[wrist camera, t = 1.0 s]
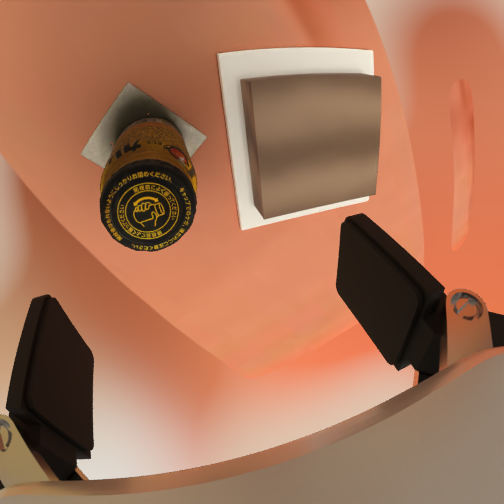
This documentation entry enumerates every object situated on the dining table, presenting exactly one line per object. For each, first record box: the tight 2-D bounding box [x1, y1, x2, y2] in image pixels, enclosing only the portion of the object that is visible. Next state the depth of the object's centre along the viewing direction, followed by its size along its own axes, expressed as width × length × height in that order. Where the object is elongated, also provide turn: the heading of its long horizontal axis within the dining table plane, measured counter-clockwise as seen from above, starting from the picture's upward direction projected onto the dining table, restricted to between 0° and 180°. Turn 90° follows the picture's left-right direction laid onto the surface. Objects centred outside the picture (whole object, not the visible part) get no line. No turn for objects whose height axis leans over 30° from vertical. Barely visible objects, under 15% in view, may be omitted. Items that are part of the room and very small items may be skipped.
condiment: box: [81, 83, 207, 252], centre depth 19 cm, size 7×8×12 cm
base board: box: [217, 47, 374, 230], centre depth 27 cm, size 17×15×1 cm
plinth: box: [240, 73, 381, 220], centre depth 26 cm, size 12×12×3 cm
